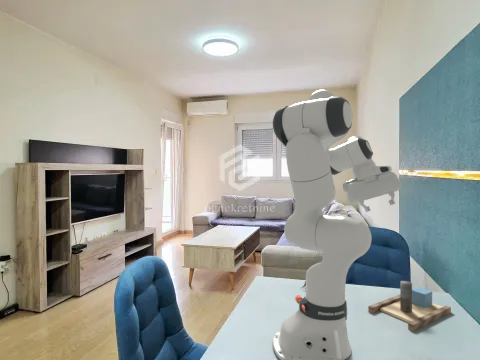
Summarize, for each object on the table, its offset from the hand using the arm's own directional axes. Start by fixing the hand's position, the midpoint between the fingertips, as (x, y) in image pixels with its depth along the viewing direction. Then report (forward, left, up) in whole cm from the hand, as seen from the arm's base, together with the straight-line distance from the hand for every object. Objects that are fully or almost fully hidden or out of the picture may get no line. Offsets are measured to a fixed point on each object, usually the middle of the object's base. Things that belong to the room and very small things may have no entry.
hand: (380, 207), depth 114 cm
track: (+6, -8, -38) cm, 39 cm away
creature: (-24, +17, -38) cm, 48 cm away
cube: (+13, -4, -36) cm, 38 cm away
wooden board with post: (+8, -7, -37) cm, 38 cm away
